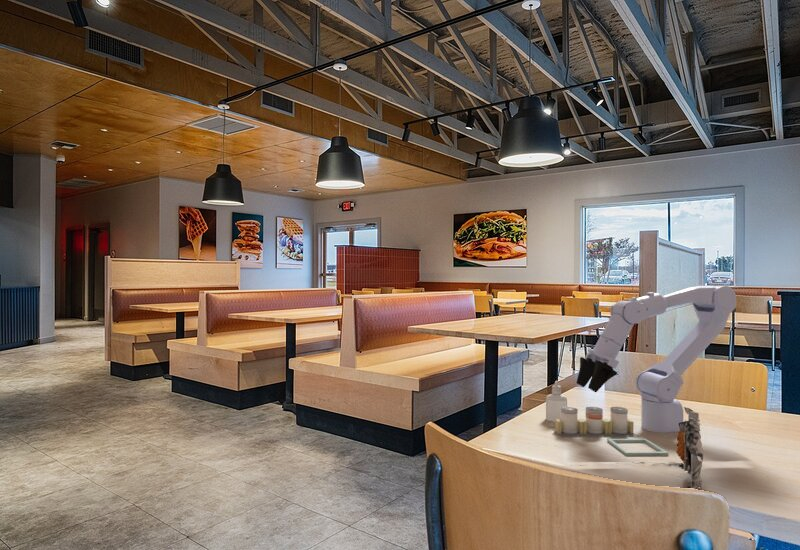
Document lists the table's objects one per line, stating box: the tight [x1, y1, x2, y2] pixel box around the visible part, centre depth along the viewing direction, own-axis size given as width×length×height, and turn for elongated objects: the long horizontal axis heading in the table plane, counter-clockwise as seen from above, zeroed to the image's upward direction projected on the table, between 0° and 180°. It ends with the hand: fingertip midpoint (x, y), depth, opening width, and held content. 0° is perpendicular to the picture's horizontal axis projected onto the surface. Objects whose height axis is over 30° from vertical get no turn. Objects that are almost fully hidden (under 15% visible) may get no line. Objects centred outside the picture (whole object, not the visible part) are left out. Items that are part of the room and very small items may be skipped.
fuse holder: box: [550, 418, 641, 438], centre depth 128 cm, size 20×8×4 cm, turn 91°
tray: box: [606, 438, 669, 457], centre depth 116 cm, size 10×10×2 cm
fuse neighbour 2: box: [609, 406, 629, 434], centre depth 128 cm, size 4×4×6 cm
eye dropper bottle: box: [545, 380, 568, 422], centre depth 139 cm, size 4×6×12 cm
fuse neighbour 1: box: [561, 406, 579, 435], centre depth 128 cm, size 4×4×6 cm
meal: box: [675, 406, 704, 489], centre depth 101 cm, size 15×4×13 cm, turn 153°
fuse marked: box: [585, 406, 604, 435], centre depth 128 cm, size 4×4×6 cm
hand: (585, 387), depth 129 cm, fingers open, 7 cm apart
